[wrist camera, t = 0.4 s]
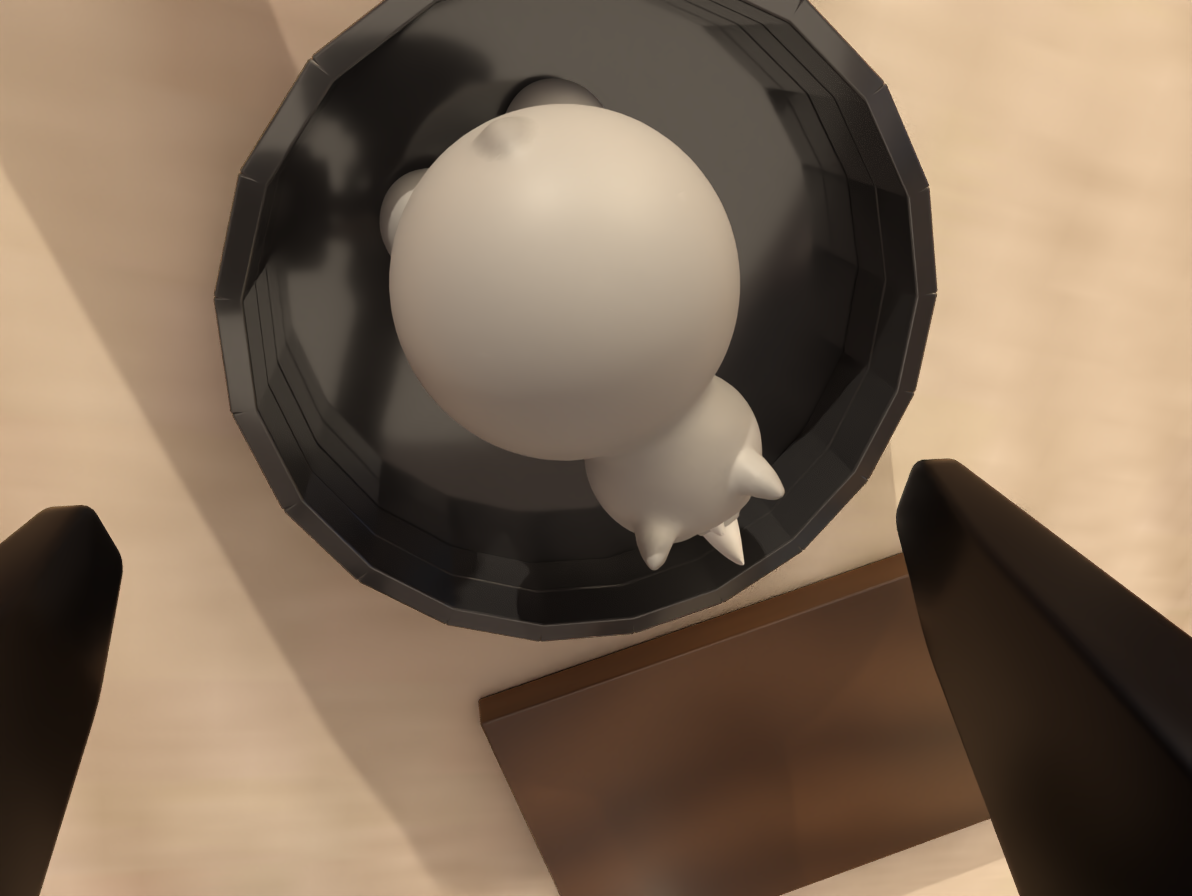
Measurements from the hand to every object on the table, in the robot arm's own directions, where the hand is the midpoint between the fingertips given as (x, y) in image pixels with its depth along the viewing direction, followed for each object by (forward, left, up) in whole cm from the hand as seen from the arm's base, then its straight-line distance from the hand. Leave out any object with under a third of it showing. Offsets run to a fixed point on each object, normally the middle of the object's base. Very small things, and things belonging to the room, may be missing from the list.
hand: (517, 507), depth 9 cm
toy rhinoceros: (-3, -2, -14) cm, 15 cm away
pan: (-3, -2, -14) cm, 15 cm away
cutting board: (-22, -5, -14) cm, 27 cm away
